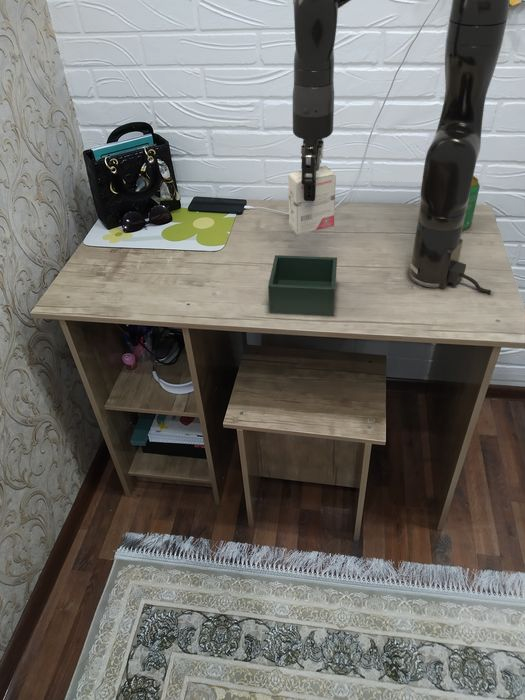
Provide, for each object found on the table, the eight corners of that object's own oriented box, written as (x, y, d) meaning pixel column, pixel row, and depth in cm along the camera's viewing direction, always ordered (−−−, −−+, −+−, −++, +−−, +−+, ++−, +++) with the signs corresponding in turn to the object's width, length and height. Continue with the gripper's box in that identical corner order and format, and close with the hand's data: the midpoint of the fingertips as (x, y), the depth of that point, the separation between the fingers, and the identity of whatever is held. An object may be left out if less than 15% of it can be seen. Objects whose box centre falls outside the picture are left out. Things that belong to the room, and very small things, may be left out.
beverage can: (462, 214, 148) (471, 170, 140) (476, 230, 142) (486, 185, 134) (433, 218, 147) (440, 174, 139) (445, 234, 141) (454, 189, 133)
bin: (335, 283, 128) (337, 257, 124) (333, 316, 120) (334, 289, 115) (275, 281, 130) (274, 255, 125) (269, 312, 122) (268, 286, 117)
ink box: (325, 216, 123) (326, 163, 115) (335, 226, 120) (337, 173, 112) (288, 225, 121) (287, 172, 113) (297, 235, 118) (296, 182, 110)
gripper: (330, 122, 98) (327, 209, 109) (337, 93, 108) (333, 175, 120) (287, 121, 99) (288, 207, 110) (298, 93, 110) (298, 174, 121)
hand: (311, 191), depth 115 cm, fingers closed on ink box, 7 cm apart
